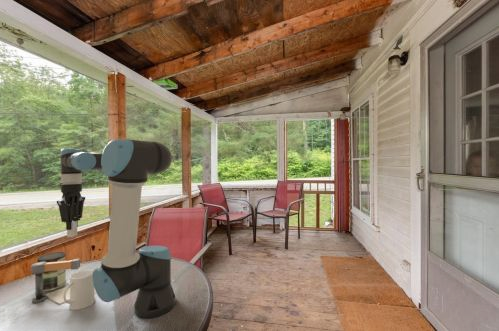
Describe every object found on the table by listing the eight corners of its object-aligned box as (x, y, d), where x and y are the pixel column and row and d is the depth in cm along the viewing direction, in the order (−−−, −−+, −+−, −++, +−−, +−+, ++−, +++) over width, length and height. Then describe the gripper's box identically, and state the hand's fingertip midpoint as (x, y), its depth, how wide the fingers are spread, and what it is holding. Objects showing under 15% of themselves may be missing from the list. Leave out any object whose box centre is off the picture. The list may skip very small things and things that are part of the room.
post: (48, 299, 100) (47, 271, 100) (34, 304, 96) (34, 275, 96) (43, 296, 102) (43, 269, 102) (30, 301, 98) (30, 273, 98)
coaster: (94, 290, 106) (93, 288, 106) (59, 305, 95) (59, 303, 95) (79, 283, 113) (79, 281, 113) (45, 296, 102) (45, 294, 102)
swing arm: (27, 275, 96) (27, 266, 96) (35, 270, 101) (35, 261, 101) (76, 270, 100) (76, 261, 100) (81, 265, 105) (81, 257, 105)
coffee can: (43, 293, 104) (43, 261, 104) (33, 288, 109) (32, 257, 109) (70, 283, 113) (70, 253, 113) (59, 278, 118) (59, 250, 118)
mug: (70, 317, 87) (70, 284, 87) (54, 312, 90) (54, 281, 90) (100, 299, 99) (99, 271, 99) (85, 296, 101) (85, 268, 101)
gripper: (76, 182, 113) (77, 231, 113) (49, 184, 99) (49, 240, 100) (91, 182, 113) (91, 231, 113) (65, 184, 99) (66, 241, 99)
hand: (72, 236), depth 106 cm, fingers closed
